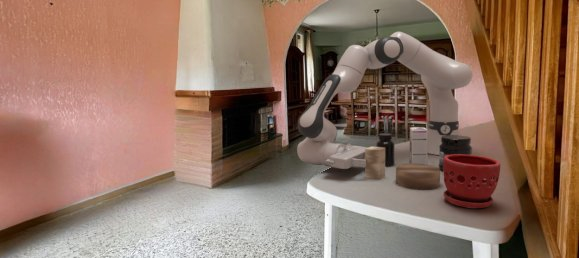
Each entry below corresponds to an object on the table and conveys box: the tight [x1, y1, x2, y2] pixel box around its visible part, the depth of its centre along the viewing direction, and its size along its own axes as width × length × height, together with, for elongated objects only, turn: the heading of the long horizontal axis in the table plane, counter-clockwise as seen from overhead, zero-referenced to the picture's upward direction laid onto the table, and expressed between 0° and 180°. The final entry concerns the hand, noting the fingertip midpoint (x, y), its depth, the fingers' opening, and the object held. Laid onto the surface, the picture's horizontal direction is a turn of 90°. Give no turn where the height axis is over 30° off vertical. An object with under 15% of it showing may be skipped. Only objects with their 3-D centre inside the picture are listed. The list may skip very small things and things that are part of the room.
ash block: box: [364, 146, 386, 181], centre depth 115 cm, size 5×5×10 cm
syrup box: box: [409, 126, 429, 165], centre depth 128 cm, size 6×6×14 cm
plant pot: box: [442, 154, 501, 209], centre depth 89 cm, size 13×13×12 cm
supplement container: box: [438, 135, 473, 174], centre depth 121 cm, size 10×10×12 cm
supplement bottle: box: [375, 132, 395, 167], centre depth 132 cm, size 7×7×12 cm
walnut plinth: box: [395, 163, 441, 191], centre depth 107 cm, size 13×13×5 cm
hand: (372, 159), depth 116 cm, fingers open, 8 cm apart
